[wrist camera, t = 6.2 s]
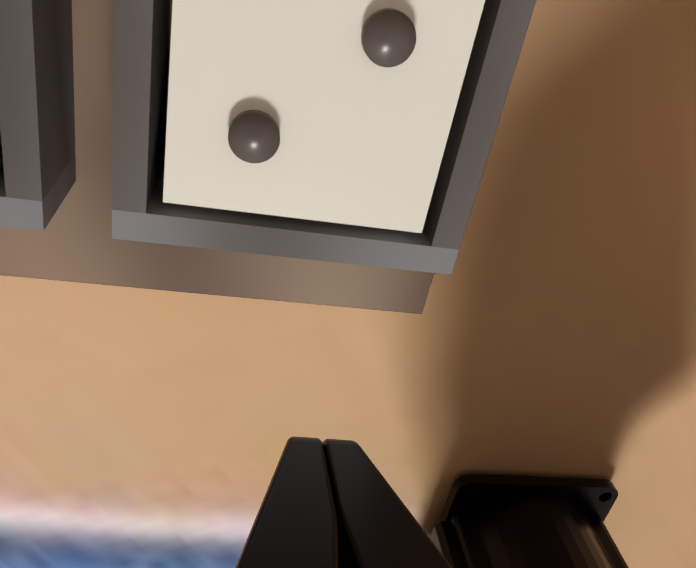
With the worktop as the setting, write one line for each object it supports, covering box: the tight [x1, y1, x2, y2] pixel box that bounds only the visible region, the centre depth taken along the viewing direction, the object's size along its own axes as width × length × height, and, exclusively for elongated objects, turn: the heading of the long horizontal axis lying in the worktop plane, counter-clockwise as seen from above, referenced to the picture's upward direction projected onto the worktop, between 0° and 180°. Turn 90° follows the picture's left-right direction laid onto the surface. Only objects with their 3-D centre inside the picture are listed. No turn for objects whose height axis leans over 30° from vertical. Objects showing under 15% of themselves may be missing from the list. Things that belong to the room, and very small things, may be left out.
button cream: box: [163, 0, 485, 233], centre depth 12 cm, size 5×5×2 cm
